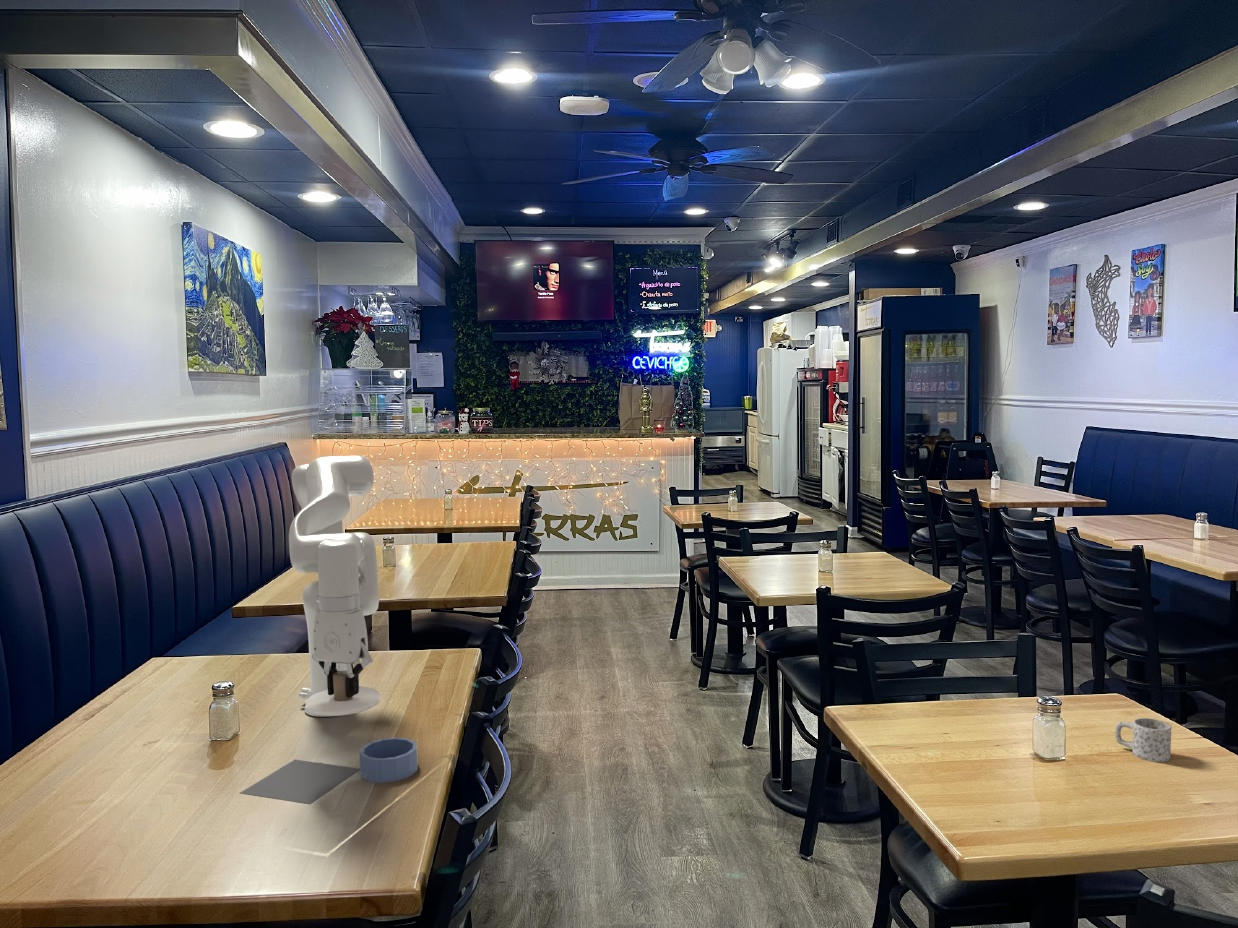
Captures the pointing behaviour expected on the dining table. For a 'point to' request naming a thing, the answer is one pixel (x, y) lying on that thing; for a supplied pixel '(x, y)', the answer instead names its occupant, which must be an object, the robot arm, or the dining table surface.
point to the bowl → (388, 760)
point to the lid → (342, 699)
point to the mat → (301, 781)
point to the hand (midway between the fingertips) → (343, 693)
